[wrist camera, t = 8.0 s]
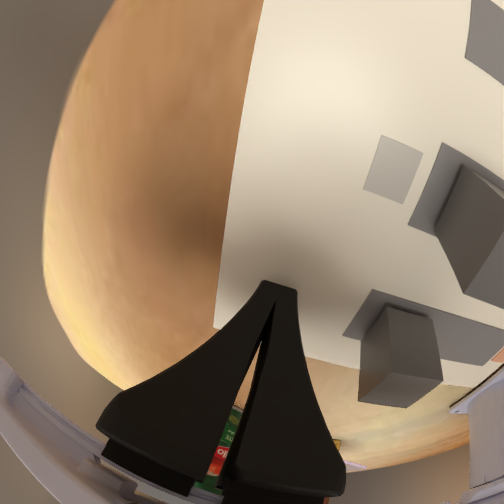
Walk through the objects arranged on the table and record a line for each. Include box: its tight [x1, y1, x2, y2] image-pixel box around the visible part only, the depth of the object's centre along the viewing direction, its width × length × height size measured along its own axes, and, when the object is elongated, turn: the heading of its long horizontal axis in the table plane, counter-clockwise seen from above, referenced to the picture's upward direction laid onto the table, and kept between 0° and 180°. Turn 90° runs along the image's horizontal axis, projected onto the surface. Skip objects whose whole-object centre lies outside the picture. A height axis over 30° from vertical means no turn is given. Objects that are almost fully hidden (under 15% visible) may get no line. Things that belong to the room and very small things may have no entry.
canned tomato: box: [194, 405, 243, 495], centre depth 21 cm, size 8×8×11 cm
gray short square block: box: [358, 307, 443, 408], centre depth 9 cm, size 2×2×3 cm
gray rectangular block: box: [434, 165, 504, 309], centre depth 5 cm, size 2×2×3 cm
